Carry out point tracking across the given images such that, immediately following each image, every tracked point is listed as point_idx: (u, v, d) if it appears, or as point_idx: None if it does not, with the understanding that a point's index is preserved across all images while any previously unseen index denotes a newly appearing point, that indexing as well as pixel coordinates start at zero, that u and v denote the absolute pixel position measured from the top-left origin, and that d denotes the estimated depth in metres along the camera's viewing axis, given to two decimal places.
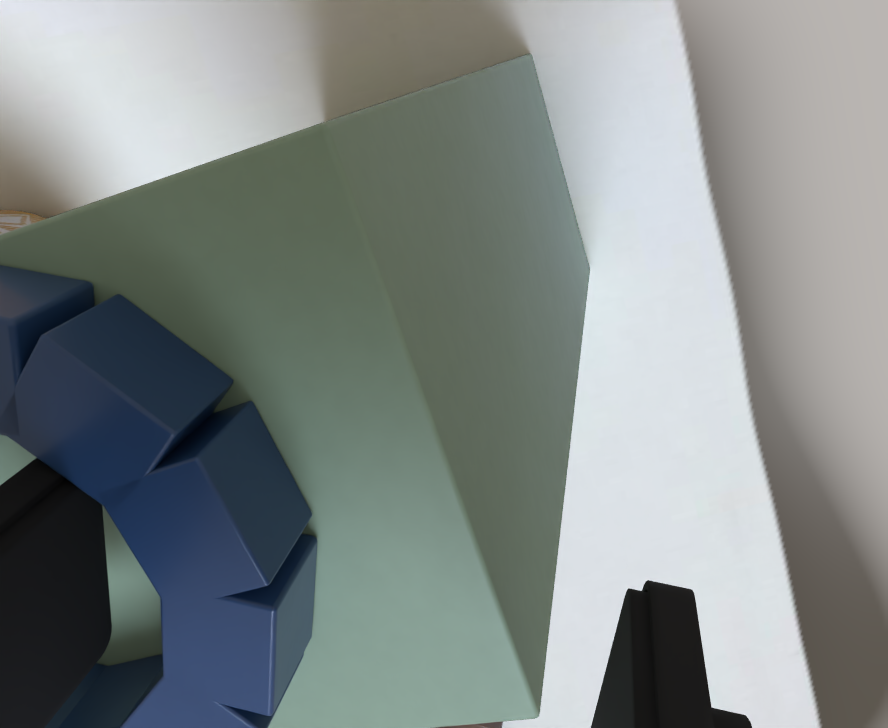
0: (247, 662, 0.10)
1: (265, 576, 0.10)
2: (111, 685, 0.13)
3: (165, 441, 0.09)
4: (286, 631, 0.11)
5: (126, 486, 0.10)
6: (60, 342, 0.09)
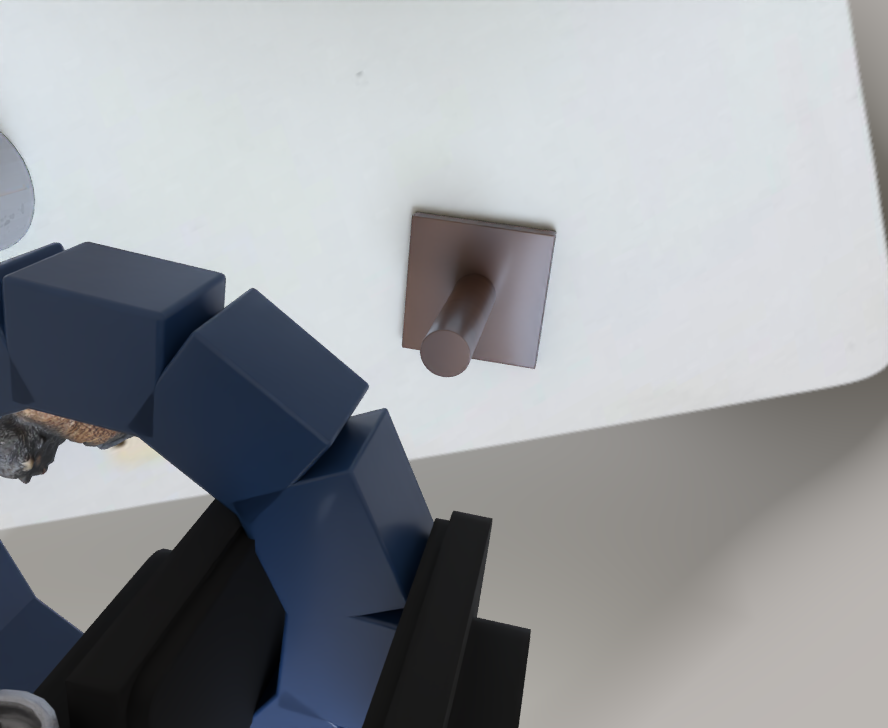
0: (373, 685, 0.10)
1: (407, 597, 0.09)
2: None
3: (317, 451, 0.09)
4: None
5: (266, 496, 0.09)
6: (211, 340, 0.08)
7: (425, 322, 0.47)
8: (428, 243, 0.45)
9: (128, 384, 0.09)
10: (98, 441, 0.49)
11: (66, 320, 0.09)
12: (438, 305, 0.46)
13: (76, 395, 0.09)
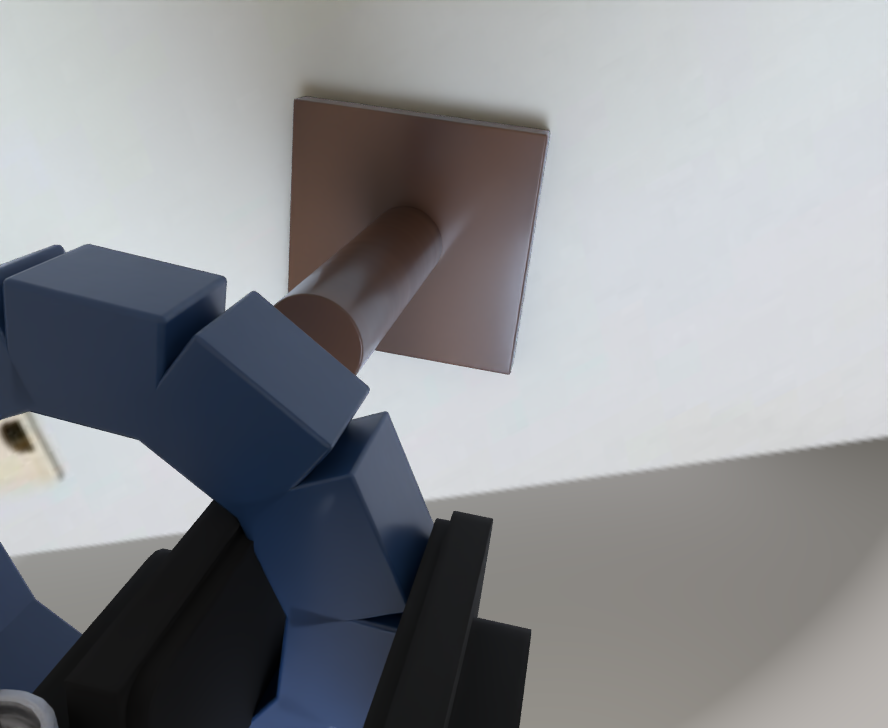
0: (373, 689, 0.10)
1: None
2: None
3: (318, 455, 0.09)
4: None
5: (267, 500, 0.09)
6: (213, 344, 0.08)
7: None
8: (324, 149, 0.25)
9: (130, 387, 0.09)
10: None
11: (67, 323, 0.09)
12: None
13: (77, 398, 0.09)
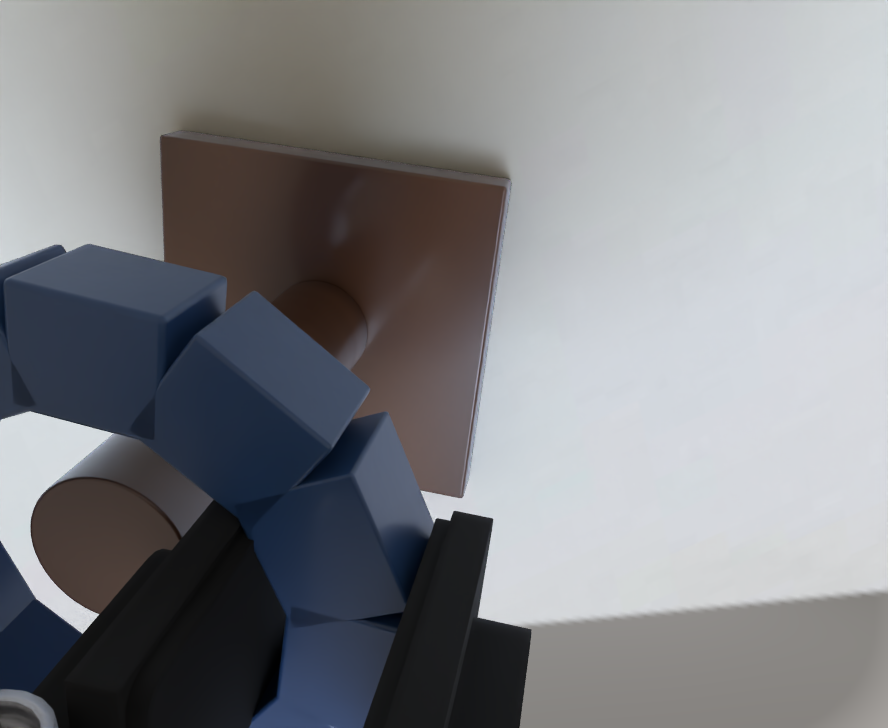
0: (373, 688, 0.10)
1: None
2: None
3: (318, 455, 0.09)
4: None
5: (267, 499, 0.09)
6: (213, 344, 0.08)
7: None
8: (204, 203, 0.18)
9: (130, 387, 0.09)
10: None
11: (67, 323, 0.09)
12: None
13: (77, 398, 0.09)
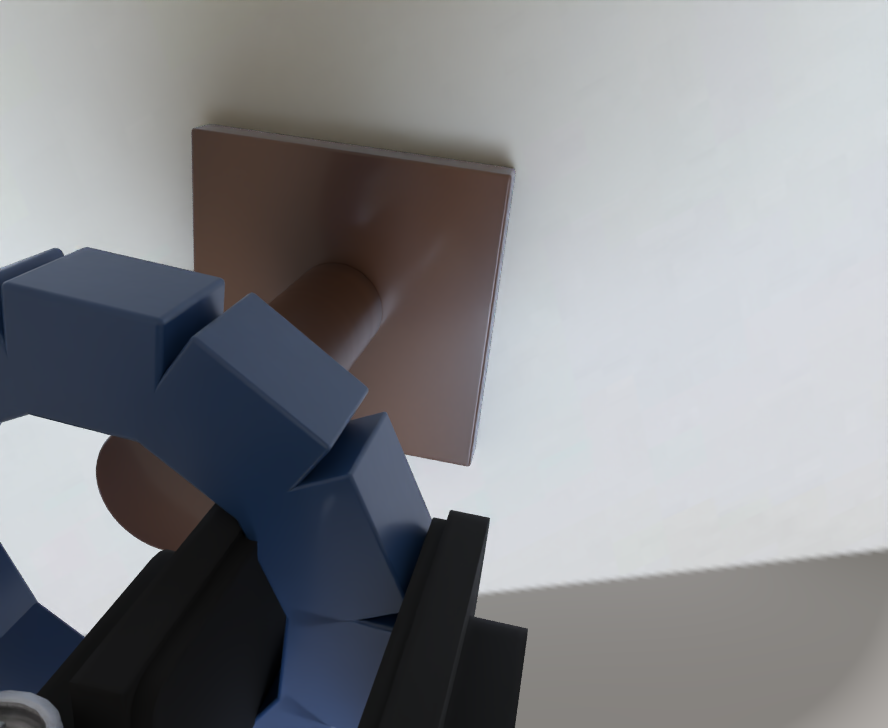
0: None
1: None
2: None
3: (317, 456, 0.09)
4: None
5: (266, 501, 0.09)
6: (210, 345, 0.08)
7: None
8: (231, 191, 0.20)
9: (128, 390, 0.09)
10: None
11: (65, 326, 0.09)
12: None
13: (76, 401, 0.09)
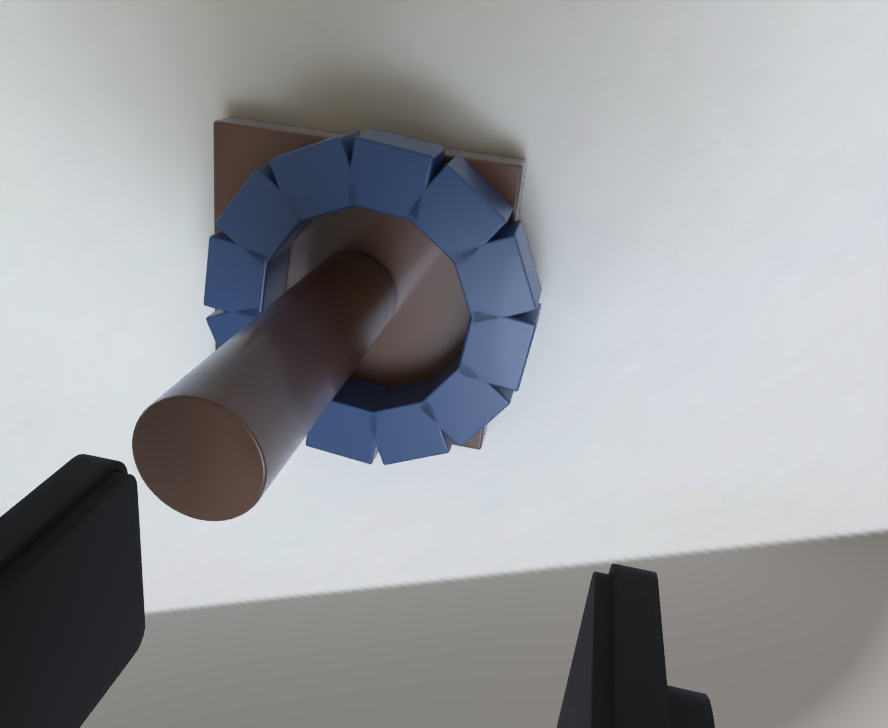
0: (511, 357, 0.20)
1: (535, 304, 0.19)
2: (399, 391, 0.22)
3: (499, 225, 0.18)
4: None
5: (470, 250, 0.19)
6: (454, 169, 0.18)
7: None
8: None
9: (410, 191, 0.18)
10: None
11: (384, 158, 0.18)
12: None
13: (381, 197, 0.19)
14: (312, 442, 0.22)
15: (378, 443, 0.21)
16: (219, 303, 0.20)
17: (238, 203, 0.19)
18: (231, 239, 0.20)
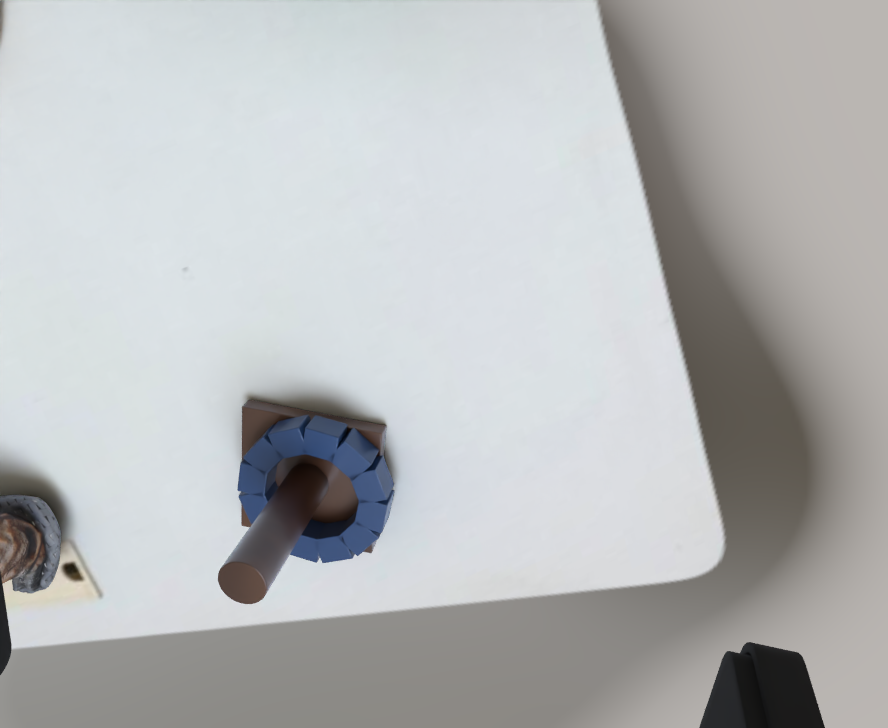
0: (377, 518, 0.43)
1: (386, 497, 0.43)
2: (330, 527, 0.45)
3: (368, 465, 0.42)
4: (387, 512, 0.43)
5: (357, 474, 0.42)
6: (348, 442, 0.42)
7: None
8: (260, 432, 0.44)
9: (329, 450, 0.42)
10: None
11: (318, 437, 0.42)
12: None
13: (317, 452, 0.42)
14: None
15: (319, 553, 0.45)
16: (245, 490, 0.44)
17: (254, 450, 0.43)
18: (250, 464, 0.43)
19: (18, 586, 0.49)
